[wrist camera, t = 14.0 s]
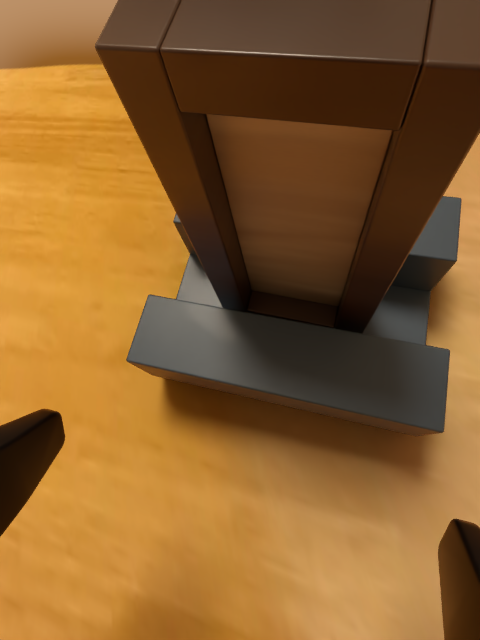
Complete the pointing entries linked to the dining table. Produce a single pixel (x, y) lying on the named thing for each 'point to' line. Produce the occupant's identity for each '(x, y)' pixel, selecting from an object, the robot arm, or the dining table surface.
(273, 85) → the frame
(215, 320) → the holder
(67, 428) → the dining table surface
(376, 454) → the dining table surface
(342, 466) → the dining table surface
